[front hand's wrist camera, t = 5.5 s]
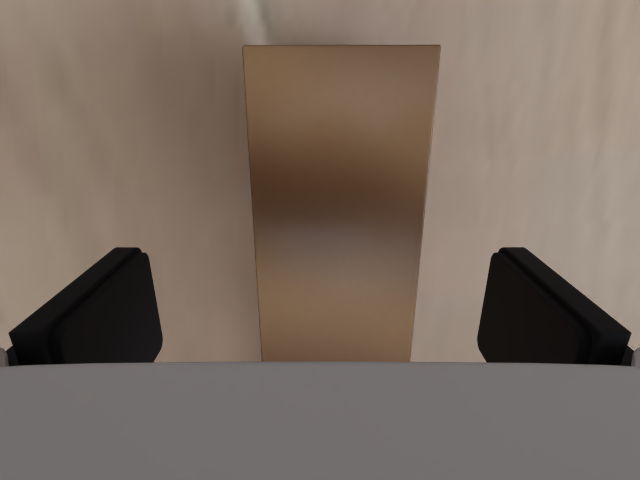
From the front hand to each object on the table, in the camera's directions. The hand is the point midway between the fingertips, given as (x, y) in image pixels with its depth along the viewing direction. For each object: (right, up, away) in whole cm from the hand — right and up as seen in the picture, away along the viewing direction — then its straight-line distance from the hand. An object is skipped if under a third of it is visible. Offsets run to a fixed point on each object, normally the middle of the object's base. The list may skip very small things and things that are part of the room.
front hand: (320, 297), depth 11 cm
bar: (+1, -28, +23) cm, 36 cm away
